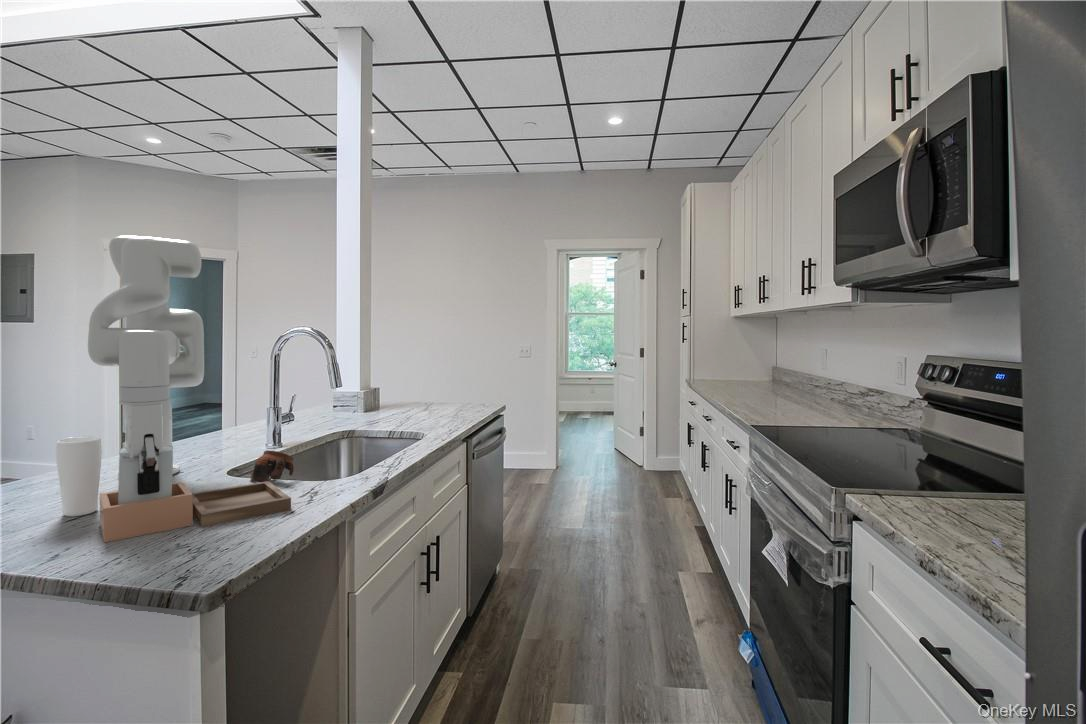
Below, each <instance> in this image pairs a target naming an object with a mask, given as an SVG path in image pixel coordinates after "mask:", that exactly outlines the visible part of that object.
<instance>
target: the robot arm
mask: <svg viewBox="0 0 1086 724" xmlns="http://www.w3.org/2000/svg"><path fill="white" fill-rule="evenodd" d="M108 248H109V249H108V250H109V256H110V258H111V262H112V264H113V266H114V268H115V270H116V272H117V274H118V276H119V277H120V280H119V288H118V289H116V290H114V291H112V292H111V293H110V294H108V295H107V296H105V297H104V298H103V299H102V300H100V302H99V303H97V304H96V306H95V307H94V308H93V310H92V312H91V314H90V317H89V321H88V324H89V325H88V337H87V353H88V356H89V357H90V360H91V361H92V362H93V363H95V364H96V365H99V366H103V367H118V397H119V399H118V401H119V403H118V404H119V405H121V406H124V415H125V416H124V417H125V420H124V422H125V423H124V424H125V425H124V426H125V427H124V429H125V430H124V431H125V433H124V434H125V436H124V438H125V439H124V440H125V441H124V448H126V450H127V452H128V457H129V458H131V459H134V457H136V456H138V460H139V473H137V485H138V494H139V495H144V494H151V493H157V492H159V490H160V487H159V471H158V456H159V455H161V454H162V446H170V445H172V446H173V407H172V403H171V401H170V388H173V389H174V388H189V387H191V388H192V387H197V386H199V385H201V384H202V383H203V381H204V378H205V333H204V329H205V328H204V322H203V319H202V316H201V315H200V314H199V312H196V311H195V310H192V309H184V308H181V309H180V308H170V307H169V299H170V296H171V290H170V289H171V288H170V285H171V284H170V277H174V278H175V277H176V278H191V279H195V278H198V276H199V275H200V273H201V271H202V270H201V269H202V255H201V252H200V248H199V247H198V245H197V244H196V243H195V242H192V241H188V240H183V239H182V240H181V239H173V238H172V239H171V238H162V237H153V236H141V235H140V236H138V235H119V236H116V237H115V236H114V237H113V238H111V240H110V242H109V245H108ZM122 319H125V321H126V322H125V323H126V325H125V327H110V326H112V324H113V323H116V322H117V321H119V320H122ZM181 348H182V349H183V350H181ZM157 449H159V452H157ZM143 453H146V456H141V454H143ZM157 454H158V455H157ZM143 460H145V461H144V462H143ZM180 470H181V466H180V465H179V464H176V463H173V474H172V475H174V474H177V473H179V472H180ZM117 477H118V478H119V472H118V473H117Z"/></svg>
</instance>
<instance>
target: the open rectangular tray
mask: <svg viewBox="0 0 1086 724" xmlns="http://www.w3.org/2000/svg"><path fill="white" fill-rule="evenodd" d="M192 493H193V492H191V490H190V489H189V488H188V486H187V485H186V484H185V483H184V482H183V481H178V482H172V496H171V497H165V498H158V499H152V500H146V501H140V502H133V503H127V504H121V505H118V490H116V491H109V492H101V493H99V524H100V529H101V534H102V539H103V543H104V542H105V543H109V541H110V542H114V541H119V540H124V539H130V538H134V537H138V536H145V535H149V534H154V533H159V532H160V533H161V532H165V531H169V530H174V529H175V530H176V529H180V528H185V527H190V526H193V525H194V519H193V518H194V516H193V494H192Z"/></svg>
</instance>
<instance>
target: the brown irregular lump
mask: <svg viewBox="0 0 1086 724" xmlns="http://www.w3.org/2000/svg"><path fill="white" fill-rule="evenodd" d="M293 461H294V457H293V456H292V455H289V454H287V453H284V452H281V451H278V450H277V451H276V450H264V451H263V454H262V455H260V456H259V457H257V459H256V460H255V462H254V468H253V471H252V472H251V473H250V480H249V481H250V482H255V483H260V482H266V481H269V478H270V479H271V480H273V481H276V480H280V479H281V478H282V475H283V471H284V470H285V469H286V470H288V471H289V476H292V475H293V474H294V463H293Z"/></svg>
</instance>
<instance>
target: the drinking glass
mask: <svg viewBox="0 0 1086 724" xmlns="http://www.w3.org/2000/svg"><path fill="white" fill-rule="evenodd" d="M55 448H56V449H55V454H56V455H55V458H56V468H57V477H58V482H59V491H60V497H61V499H60V500H61V505H62V506H61V507H62V508H61V509H62V510H61V511H62V515H63V516H65V517H81V516H86V515H89V514H92V513H95V512H96V511H97V510H98V507H99V492H100V490H99V489H100V480H101V479H100V478H101V469H102V468H101V467H102V453H103V451H102V438H101V436H93V435H92V436H91V435H90V436H89V435H87V436H84V435H83V436H74V437H67V438H61V439H58V440H57V441H56V446H55Z"/></svg>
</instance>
